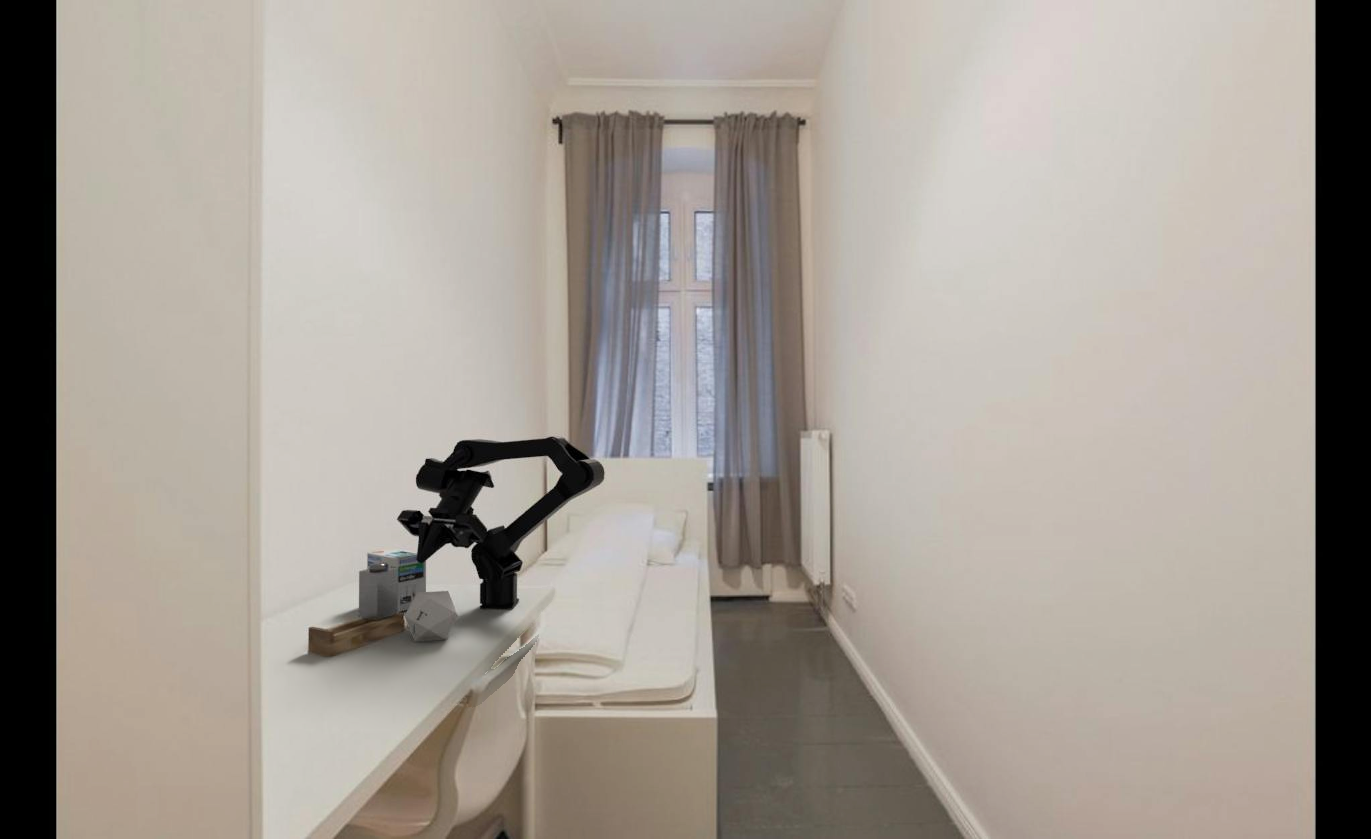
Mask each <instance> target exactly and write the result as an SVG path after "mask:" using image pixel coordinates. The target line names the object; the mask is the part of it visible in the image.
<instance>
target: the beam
mask: <svg viewBox="0 0 1371 839" xmlns="http://www.w3.org/2000/svg"><path fill="white" fill-rule="evenodd" d="M404 618H405V614H404V613H402V612H398V614H395V615H392V616H389V617H386V618H383V619H380V620H376V621H373V622H370V623H366V618H361V617H358V618H356V619H353V620H350V621H348V622H344V623H340V624H337V625H334V626H331V627H328V628H323V627H317V626H310V627H308V638H307V639H308V640H307V642H308V648H307V650H308V652H307V653H309V654H313V653H314V654H315V655H319V656H323V657H327V658H331V657H334V656H337V655H340V654H342V653H345V652H349V651H351V650H354V649H357V648H359V647H362V646H365V645H368V644H371V643H373V642H376V641H378V640H382V639H384V638H387V637H390V636H393V635H396V634H398V633H401V632H405V621H406V619H404Z"/></svg>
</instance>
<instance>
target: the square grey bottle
mask: <svg viewBox="0 0 1371 839" xmlns="http://www.w3.org/2000/svg"><path fill="white" fill-rule="evenodd" d="M398 613H399V612H398V569H397V568H389V567H388V563H384V562H380V563H372V564H370V565H369V569H362V570H359V573H358V618H366V623H370V622H373V621H376V620H380V619H383V618H386V617H389V616H392V615H395V614H398Z"/></svg>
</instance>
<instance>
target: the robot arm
mask: <svg viewBox="0 0 1371 839" xmlns="http://www.w3.org/2000/svg"><path fill="white" fill-rule="evenodd" d="M538 457H548V458H549V459H550V460H551V461H552V463H553V464H554V466H555V467H556V469H557V470H558V471H559V472H560V473H561V475H560V476H559V478H558V480H557V482H556V483H555V485H554V487H553V488H552V489H550V490H549V491H548V492H547V493H546V494H544V495H543V496H542V497H540V498H539V499H538V500H537V501H536V502H535V503H534V504H532V505H531V506H530V507H529V508H528V509H527V510H525V511H524V512H523V513H522V514H521V515H520V516H518V517H517V518H516V519H515V520H513V522H511V523H510V524H508V525H507V526H506V527H505V525H499V526H496V527H493V528H489V529H488V527H486V525H485V524H484V522H483V521H482V520H481V519H480V518H479V517H478V516H477V514H475V513H474V510H475V509H474V508H473V507H472V505H473V504H474V503H475V501H476V500H477V497H478V496H479V494H480V493H481V491H482V489H483V487H485V488H490V489H494V488H495V484H494V482H493V479H492V475H491V472H490V471H489V470H486V471H479V470H478V471H477V470H473V469H472V470H471V468H477V467H484V466H487V465H491V464H495V463H498V462H500V461H504V460H512V459H514V460H515V459H525V458H527V459H529V458H538ZM460 469H461V470H460ZM463 469H465V470H463ZM605 475H606V474H605V468H604V466H603V464H602V463H601V462H600V461H599V460H596V459H595V458H590V457H589V456H588V455H587V454H586V453H585V452H583V451H582V450H580V449H578V448H577V447H576V446H574V445H573V444H572V443H570V442H569V441H568V440H567V439H566V438H565V437H563V436H560V435H558V436H557V435H556V436H555V435H553V436H548V437H546V438H534V439H525V440H524V439H523V440H512V441H496V440H492V439H482V438H481V439H480V438H479V439H478V438H477V439H463V440H459V441H458V442H456V444H455V445H454V447H453V450H452V452H451V453H450V454H449V455H448V457H447V458H445V460H444V461H442V460H439V459H437V458H433V457H431V458H425V460H424V463H423V464H422V465H421V467H420V468H419V470H418V472H417V474H416V476H415V484H416V485H415V486H416V487H417V489H419V490H422V491H426V492H431V493H435V494H438V496H439V498H440V501H439V502H438V504H437V505H436V507H430V508H429V510H428V511H427V512H428V514H429V515H424V513H423V512H422V511H420V510H415V509H403V510H402V511H401V512H400V513H399V515H398V517H397V518H396V520H397V521H398V522H399V523H400V525H402V527H403V528H404V529H405V530H407V532H408V533H409V534H410V535H411V536H413V537H418V542H417V550H416V552H417V561H418V562H419V563H424V562H425V561H426V562H427V560H428V559H429V558H431V557H432V556H433V555H434V554H436V553H437V552H438V551H439V550H440V549H441V548H443V547H445V546H446V545H448V544H451V546H452V547H454V548H465V549H469V548H470V547H471V546H472V545H473V547H472V548H471V550H470V554H471V556H470V557H471V561H472V563H473V565H474V566H475V569H476V572H477V575H478V579H479V580H482V582H481V583H479V604H480V606H479V609H480V610H512V609H514V607H516V605H517V604H518V603H519V602H520V598H518V572H520V571H521V569H522V566H523V563H524V562H523V560H522V559H521V558H520V557H519V556H518V555H517V553H516V552H517V551H518V549H519V547H520V545H521V544H522V542H523V541H524V539H526V538H527V537H528V536H530V535H531V534H532V533H533V532H534V531H536V530H537V529H538V528H539V527H540V526H542V525H543V524H544V523H545V522H546V521H548V520H549V519H550V518H551V517H552V516H554V515H555V514H556V513H557V512H558V511H560V510H561V509H562V508H563V507H564V506H566V505H567V504H568V503H569V502H570V501H572V500H573V499H575V498H577V497H579V496H581V495H584V494H586V493H587V492H589V491H591V490H593V489H595V488H596V487H599V486H600V485H601V484H602V483H603V482H604V480H605Z"/></svg>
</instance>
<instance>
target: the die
mask: <svg viewBox="0 0 1371 839" xmlns="http://www.w3.org/2000/svg"><path fill="white" fill-rule="evenodd" d="M404 618H405V621H406V623H407V625H408V628H409V629H408V630H409V631H410V633H411V635H412V638H413V641H414V642H415V643H416V642H429V641H445V640H447V638H448V637H449V635H450V633H451V631H452V628H453V626H454V624H455V622H456V620H457V618H458V613H457V610H456V608H455V605H454V603H453V599H452V597H451V595H450V592H449V590H439V591H426V592H419V593H417V594H416V596H415V598H414V600H413V602H412V603H411V605H410V607H409V609H408V610H406V613H405V614H404Z"/></svg>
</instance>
